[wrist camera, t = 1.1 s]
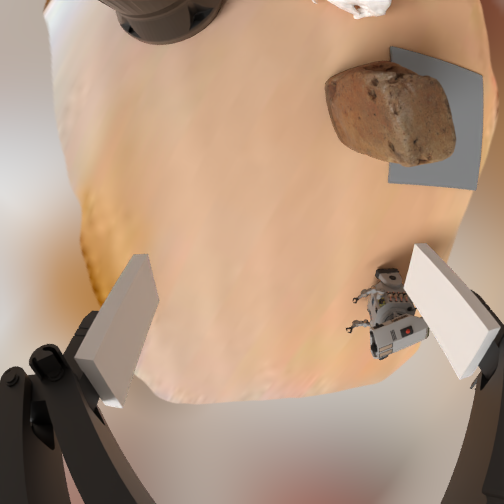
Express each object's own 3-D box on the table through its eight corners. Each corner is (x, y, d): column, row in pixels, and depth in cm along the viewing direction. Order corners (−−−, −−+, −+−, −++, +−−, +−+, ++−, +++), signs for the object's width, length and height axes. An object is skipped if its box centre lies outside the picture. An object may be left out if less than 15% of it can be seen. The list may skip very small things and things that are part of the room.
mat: (389, 46, 32) (391, 46, 31) (480, 75, 32) (482, 75, 31) (387, 182, 42) (389, 183, 41) (474, 189, 41) (476, 190, 41)
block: (381, 136, 38) (466, 160, 20) (338, 150, 39) (405, 182, 22) (358, 68, 34) (437, 46, 16) (312, 80, 35) (366, 56, 17)
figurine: (345, 269, 48) (376, 326, 35) (402, 267, 48) (442, 317, 35) (338, 311, 52) (361, 371, 39) (392, 307, 53) (423, 360, 39)
